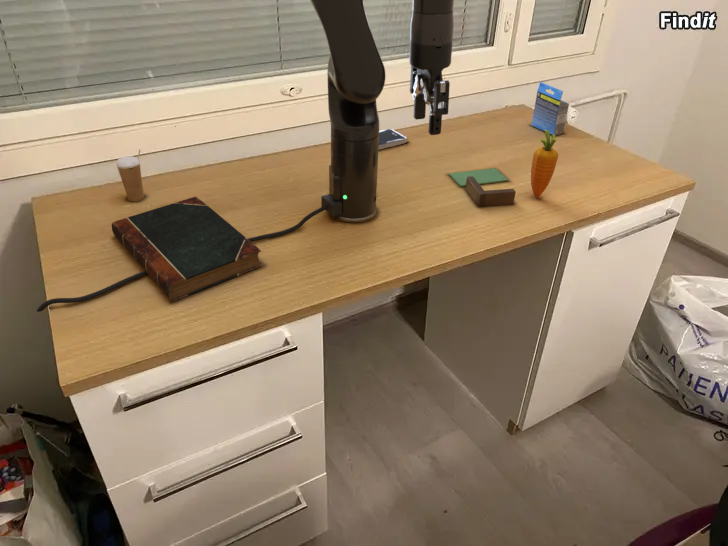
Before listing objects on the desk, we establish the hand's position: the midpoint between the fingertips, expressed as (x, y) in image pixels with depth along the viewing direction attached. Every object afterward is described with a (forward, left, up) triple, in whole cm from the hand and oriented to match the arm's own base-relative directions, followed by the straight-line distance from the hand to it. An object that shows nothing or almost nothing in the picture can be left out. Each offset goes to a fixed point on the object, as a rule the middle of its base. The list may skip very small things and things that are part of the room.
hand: (426, 126), depth 113 cm
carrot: (+27, 0, -18) cm, 32 cm away
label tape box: (+47, +37, -18) cm, 63 cm away
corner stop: (+17, +3, -18) cm, 25 cm away
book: (-47, -10, -18) cm, 51 cm away
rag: (+17, +12, -18) cm, 28 cm away
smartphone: (-2, +34, -18) cm, 39 cm away
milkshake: (-58, +13, -18) cm, 62 cm away
